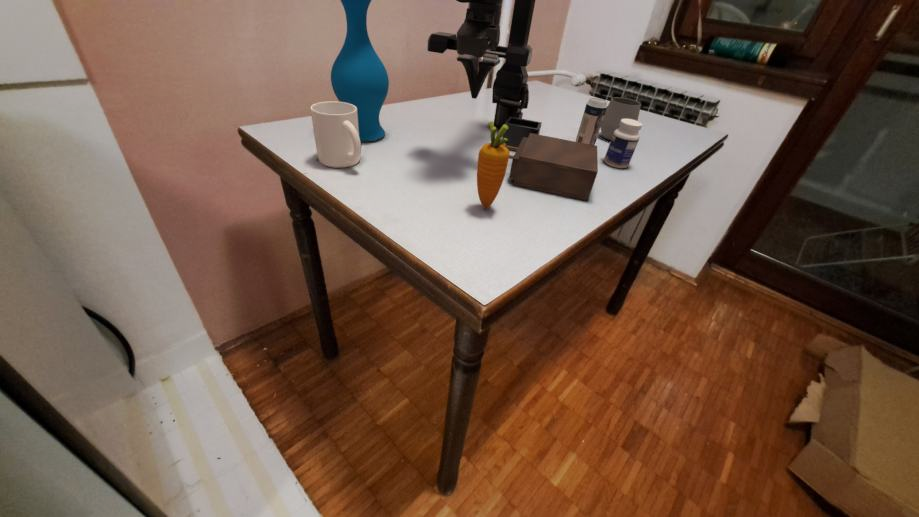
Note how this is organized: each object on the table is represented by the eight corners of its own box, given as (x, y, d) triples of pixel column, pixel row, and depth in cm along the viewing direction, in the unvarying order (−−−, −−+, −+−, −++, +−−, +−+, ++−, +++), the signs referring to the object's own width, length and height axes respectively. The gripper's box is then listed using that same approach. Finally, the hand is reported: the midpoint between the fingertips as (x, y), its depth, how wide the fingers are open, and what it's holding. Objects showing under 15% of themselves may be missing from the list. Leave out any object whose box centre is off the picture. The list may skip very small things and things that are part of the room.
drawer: (488, 174, 73) (491, 153, 71) (501, 151, 84) (504, 133, 81) (576, 193, 70) (583, 172, 68) (579, 167, 81) (585, 148, 78)
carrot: (470, 201, 66) (481, 115, 56) (496, 202, 66) (512, 118, 57) (473, 215, 62) (485, 126, 53) (501, 216, 62) (518, 128, 53)
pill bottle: (598, 160, 88) (613, 118, 82) (616, 158, 90) (631, 117, 84) (615, 170, 84) (631, 126, 78) (633, 167, 86) (650, 125, 80)
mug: (379, 169, 72) (376, 116, 66) (341, 179, 67) (334, 123, 61) (347, 149, 78) (342, 99, 72) (310, 157, 74) (302, 104, 67)
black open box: (500, 148, 88) (504, 123, 84) (505, 140, 92) (509, 116, 89) (533, 154, 86) (538, 129, 83) (536, 146, 91) (541, 122, 87)
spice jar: (593, 155, 90) (609, 104, 83) (573, 151, 91) (588, 101, 83) (591, 148, 94) (607, 99, 87) (572, 145, 94) (587, 96, 87)
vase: (396, 130, 90) (395, -8, 73) (379, 148, 81) (373, -7, 63) (350, 123, 91) (338, -16, 74) (327, 140, 82) (307, -16, 64)
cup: (624, 147, 97) (639, 108, 91) (591, 137, 101) (603, 99, 95) (634, 139, 103) (648, 102, 97) (602, 130, 107) (614, 94, 101)
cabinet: (513, 185, 73) (519, 155, 69) (524, 159, 84) (529, 132, 80) (587, 201, 70) (597, 171, 66) (588, 172, 81) (597, 145, 78)
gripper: (417, -4, 58) (415, 99, 68) (532, 11, 55) (513, 117, 64) (440, -5, 67) (435, 87, 76) (540, 9, 63) (522, 102, 73)
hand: (474, 98), depth 72 cm, fingers closed
